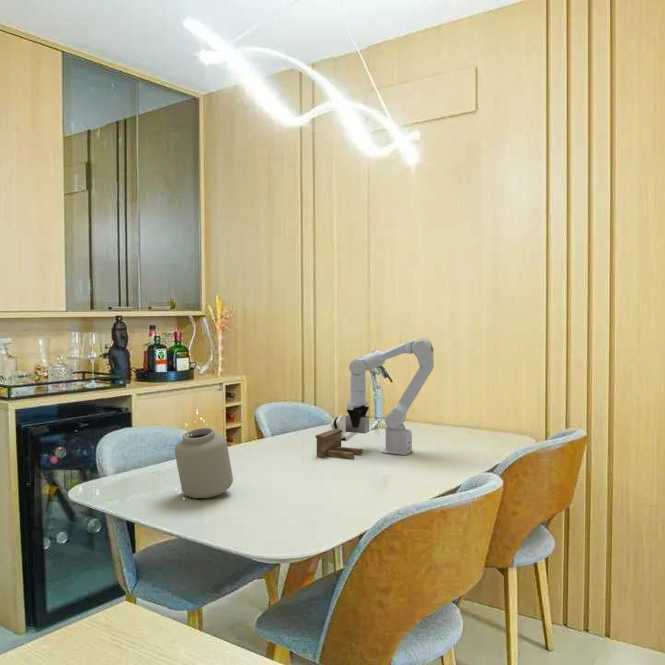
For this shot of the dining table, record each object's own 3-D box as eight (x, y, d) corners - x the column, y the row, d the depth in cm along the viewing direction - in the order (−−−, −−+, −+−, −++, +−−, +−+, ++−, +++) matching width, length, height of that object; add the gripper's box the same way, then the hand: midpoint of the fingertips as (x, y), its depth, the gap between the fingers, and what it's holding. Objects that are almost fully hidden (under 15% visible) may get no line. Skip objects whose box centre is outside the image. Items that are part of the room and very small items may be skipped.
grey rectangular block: (369, 431, 250) (369, 416, 250) (364, 433, 246) (364, 417, 246) (350, 430, 254) (350, 414, 253) (345, 431, 250) (345, 416, 250)
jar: (192, 508, 177) (192, 415, 176) (158, 498, 186) (157, 410, 185) (243, 492, 192) (243, 407, 191) (209, 484, 201) (209, 402, 200)
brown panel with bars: (365, 453, 245) (365, 432, 244) (348, 461, 232) (348, 439, 231) (333, 449, 251) (333, 428, 250) (315, 457, 238) (315, 435, 237)
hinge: (347, 440, 267) (339, 417, 267) (336, 444, 268) (328, 420, 269) (357, 433, 283) (350, 411, 283) (347, 436, 284) (340, 414, 285)
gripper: (356, 387, 258) (356, 422, 258) (340, 392, 245) (339, 428, 245) (373, 389, 254) (372, 424, 255) (357, 393, 242) (357, 430, 242)
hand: (357, 426), depth 250 cm, fingers closed on grey rectangular block, 4 cm apart
